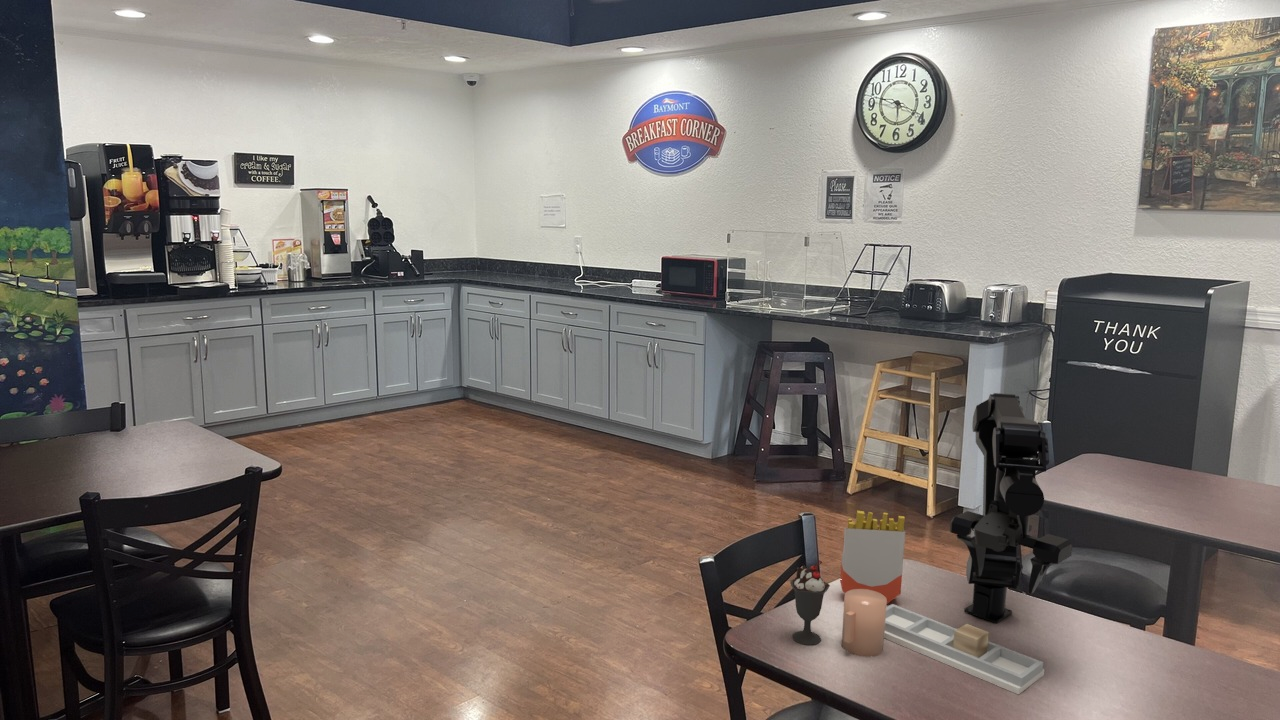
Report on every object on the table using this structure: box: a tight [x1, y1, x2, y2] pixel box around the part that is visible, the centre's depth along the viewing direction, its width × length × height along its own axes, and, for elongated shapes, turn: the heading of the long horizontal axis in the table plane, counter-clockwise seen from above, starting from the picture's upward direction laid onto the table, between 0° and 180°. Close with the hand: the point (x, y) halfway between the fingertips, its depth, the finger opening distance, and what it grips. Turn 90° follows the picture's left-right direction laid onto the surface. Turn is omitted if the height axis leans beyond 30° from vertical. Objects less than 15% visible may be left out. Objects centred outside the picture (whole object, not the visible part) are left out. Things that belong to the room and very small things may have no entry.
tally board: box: [884, 603, 1045, 695], centre depth 156 cm, size 9×28×2 cm, turn 42°
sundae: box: [789, 560, 831, 646], centre depth 159 cm, size 7×7×15 cm
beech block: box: [953, 623, 990, 658], centre depth 153 cm, size 4×4×4 cm
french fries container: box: [839, 510, 906, 604], centre depth 174 cm, size 5×11×18 cm, turn 83°
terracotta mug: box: [841, 589, 888, 658], centre depth 156 cm, size 8×7×9 cm
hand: (1004, 584), depth 155 cm, fingers open, 9 cm apart
